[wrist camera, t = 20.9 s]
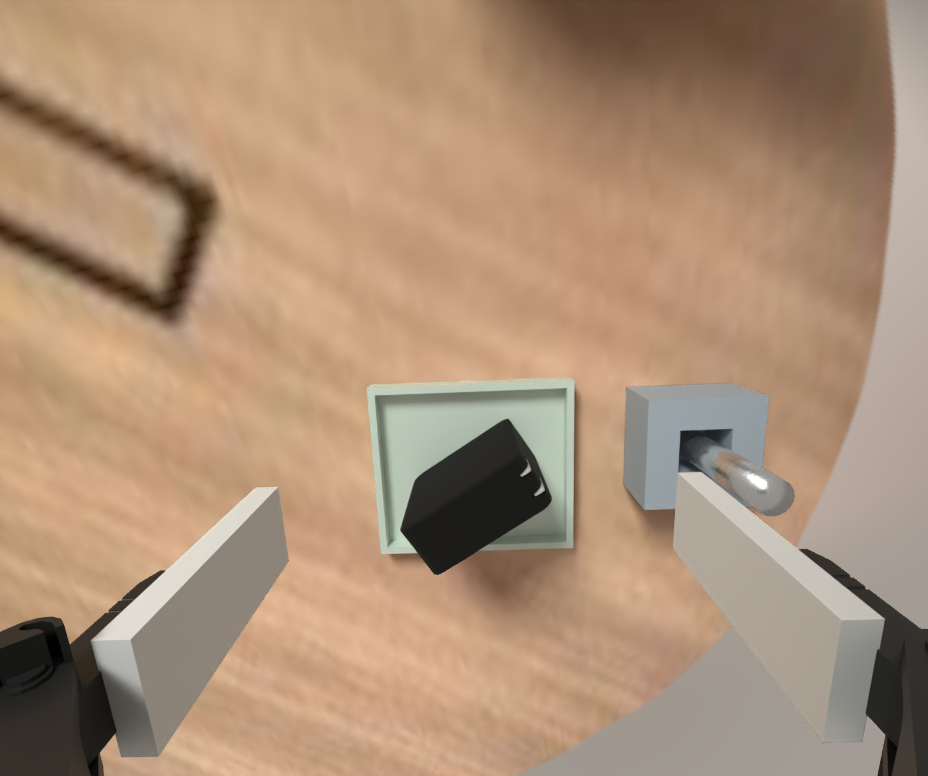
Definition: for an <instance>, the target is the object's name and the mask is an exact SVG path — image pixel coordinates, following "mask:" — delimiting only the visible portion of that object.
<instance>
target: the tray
mask: <svg viewBox="0 0 928 776" xmlns="http://www.w3.org/2000/svg"><path fill="white" fill-rule="evenodd" d="M367 397H368V409H369V420H370V432H371V444H372V455H373V467H374V478H375V490H376V501H377V513H378V524H379V536H380V547H381V554H403V553H417V552H416V550H415V549H414V548H413V546H412V545H411V544H410V543H409V541H408V540H407V539H406V538H405V536H404V535H403V534H402V532H401V531H400V528H401V524H402V521H403V518H404V514H405V511H406V507H407V504H408V501H409V497H410V494H411V490H412V487H413V484H414V481H415V479H416V478H417V477H418V476H419V475H421V474H422V473H423V472H425V471H426V470H428V469H429V468H431V467H432V466H434V465H435V464H437V463H438V462H440V461H441V460H443V459H444V458H446V457H447V456H449V455H450V454H452V453H453V452H455V451H456V450H458V449H459V448H461V447H462V446H464V445H465V444H467V443H469V442H470V441H472V440H473V439H475V438H476V437H478V436H479V435H481V434H482V433H484V432H485V431H487V430H488V429H490V428H491V427H493V426H494V425H496V424H497V423H499V422H501V421H502V420H504V419H509V420H510V421H511V422H512V424H513V425H514V427H515V428H516V430H517V431H518V432H519V434H520V435H521V437H522V438H523V440H524V441H525V443H526V444H527V445H528V447H529V448H530V450H531V451H532V453H533V454H534V455H535V457H536V460H537V462H538V465H539V467H540V470H541V472H542V474H543V477H544V479H545V482H546V484H547V487H548V489H549V491H550V494H551V496H552V501H551V503H550V504H549V506H548V507H547V508H545V509H544V510H543V511H541V512H540V513H538V514H537V515H535V516H533V517H532V518H530V519H528V520H527V521H525V522H524V523H522V524H520V525H519V526H517V527H516V528H514V529H512V530H511V531H509V532H508V533H506V534H504V535H503V536H501V537H500V538H498V539H496V540H495V541H493V542H491V543H490V544H488V545H487V546H485V547H483V548H482V549H480V550H479V551H496V550H528V549H559V548H573V500H574V380H573V379H572V378H571V377H552V378H526V379H500V380H475V381H449V382H423V383H398V384H372V385H370V386H369V387H368V388H367Z"/></svg>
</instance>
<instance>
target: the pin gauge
mask: <svg viewBox="0 0 928 776" xmlns="http://www.w3.org/2000/svg"><path fill="white" fill-rule="evenodd" d="M679 455H681V456H682V457H683V458H685V459H686V460H688V461H689V462H690V463H692V464H693V465H695V466H696V467H697V468H699V469H700V470H702V471H703V472H704V473H706V474H707V475H709V476H710V477H711V478H713V479H714V480H716V481H717V482H718V483H720V484H721V485H723V486H724V487H725V488H727V489H728V490H729V491H731V492H732V493H734V494H735V495H736V496H738V497H739V498H741V499H742V500H743V501H745V502H746V503H748V504H749V505H750V506H752V507H753V508H755V509H756V510H757V511H759V512H760V513H762V514H764V515H766V516H777V515H780V514H782V513H784V512H786V511H787V510H788V509H789V508H790V507H791V505H792V503H793V501H794V490H793V488H792V486H791V485H790V484H789V483H788V482H787V481H785V480H783V479H781V478H780V477H778V476H776V475H774V474H772V473H771V472H769V471H767V470H765V469H764V468H762V467H760V466H758V465H756V464H755V463H753V462H751V461H749V460H748V459H746V458H744V457H742V456H740V455H739V454H737V453H735V452H733V451H731V450H730V449H728V448H726V447H724V446H723V445H721V444H719V443H717V442H715V441H714V440H712V439H710V438H708V437H706V436H705V435H703V434H701V433H699V432H698V431H696V430H685V431H680V447H679Z"/></svg>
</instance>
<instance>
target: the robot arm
mask: <svg viewBox="0 0 928 776" xmlns="http://www.w3.org/2000/svg"><path fill="white" fill-rule="evenodd" d="M673 550H674V551H675V552H676V554H677V555H678V556H679V558H680V559H681V560H682V561H683V563H684V564H685V565H686V567H687V568H688V569H689V571H690V572H691V573H692V574H693V576H694V577H695V578H696V580H697V581H698V582H699V584H700V585H701V586H702V587H703V589H704V590H705V591H706V593H707V594H708V595H709V597H710V598H711V599H712V600H713V602H714V603H715V604H716V606H717V607H718V608H719V609H720V611H721V612H722V613H723V615H724V616H725V617H726V619H727V620H728V621H729V622H730V624H731V625H732V626H733V628H734V629H735V630H736V632H737V633H738V634H739V635H740V636H741V638H742V639H743V641H744V642H745V643H746V645H747V646H748V647H749V648H750V650H751V651H752V652H753V654H754V655H755V656H756V658H757V659H758V660H759V661H760V663H761V664H762V665H763V666H764V668H765V669H766V670H767V672H768V673H769V674H770V676H771V677H772V678H773V680H774V681H775V682H776V683H777V685H778V686H779V687H780V689H781V690H782V691H783V692H784V694H785V695H786V696H787V698H788V699H789V700H790V701H791V703H792V704H793V706H794V707H795V708H796V709H797V710H798V712H799V713H800V715H801V716H802V717H803V718H804V720H805V721H806V722H807V724H808V725H809V726H810V728H811V729H812V730H813V731H814V733H815V734H816V735H817V737H818V738H819V739H820V741H821V742H822V743H835V742H862V741H863V736H864V731H865V725H866V720H867V715H868V716H869V718H870V719H871V720H872V721H873V722H874V723H875V724H876V725H877V726H878V727H879V728H880V729H881V730H882V732H883V733H884V734H885V741H884V746H883V751H882V756H881V761H880V766H879V771H878V776H928V629H920V628H919V627H917V626H916V625H915V624H914V623H912V622H911V621H909V620H908V619H907V618H906V617H904V616H903V615H902V614H900V613H899V612H898V611H897V610H895V609H894V608H893V607H891V606H890V605H889V604H887V603H886V602H885V601H883V600H882V599H880V598H879V597H878V596H877V595H875V594H874V593H873V592H871V591H870V590H866V589H865V586H864V585H862V584H861V583H860V582H858V581H857V580H856V579H854V578H850V575H849V574H848V573H847V572H845V571H844V570H842V569H841V568H840V567H839V566H837V565H836V564H835V563H833V562H832V561H831V560H828V559H826V558H824V557H822V556H820V555H818V554H816V553H814V552H812V551H810V550H808V549H797V548H796V547H794V546H793V545H792V544H791V543H789V542H788V541H787V540H786V539H784V538H783V537H782V536H781V535H779V534H778V533H777V532H776V531H774V530H773V529H772V528H771V527H770V526H768V525H767V524H766V523H765V522H763V521H762V520H761V519H760V518H758V517H757V516H756V515H755V514H753V513H752V512H751V511H750V510H748V509H747V508H746V507H745V506H743V505H742V504H741V503H740V502H738V501H737V500H736V499H735V498H733V497H732V496H731V495H730V494H728V493H727V492H726V491H725V490H723V489H722V488H721V487H720V486H718V485H717V484H716V483H715V482H713V481H712V480H711V479H710V478H708V477H707V476H706V475H705V474H703V473H702V472H685V473H678V474H677V490H676V506H675V522H674V538H673ZM288 561H289V559H288V552H287V545H286V538H285V531H284V525H283V518H282V511H281V504H280V497H279V490H278V487H263V488H254V489H253V490H252V491H251V492H250V493H249V494H248V495H247V496H246V497H245V498H244V499H243V500H242V501H240V502H239V503H238V504H237V505H236V506H235V507H234V508H233V509H232V510H231V511H230V512H229V513H228V514H226V515H225V516H224V517H223V518H222V519H221V520H220V521H219V522H218V523H217V524H216V525H215V526H214V527H212V528H211V529H210V530H209V531H208V532H207V533H206V534H205V535H204V536H203V537H202V538H201V539H200V540H198V541H197V542H196V543H195V544H194V545H193V546H192V547H191V548H190V549H189V550H188V551H187V552H186V553H185V554H183V555H182V556H181V557H180V558H179V559H178V560H177V561H176V562H175V563H174V564H173V565H172V566H171V567H169V568H168V569H167V570H163V571H159V572H157V573H156V574H154V575H152V576H150V577H149V578H147V579H145V580H144V581H142V582H140V583H139V584H138V585H136V586H135V587H134V588H133V589H132V590H131V591H130V592H129V593H127V594H126V595H125V596H124V597H123V598H122V601H118V602H117V603H116V604H115V605H114V606H113V607H112V608H111V609H109V612H108V613H105V614H104V615H103V616H102V617H101V618H99V619H98V620H97V621H96V622H95V623H94V624H93V625H92V626H90V627H89V628H88V629H87V630H86V631H85V632H84V633H83V634H81V635H80V636H79V637H78V638H77V639H76V640H75V641H74V642H72V643H71V644H69V641H68V637H67V634H66V630H65V626H64V624H63V622H62V620H61V619H60V618H56V617H44V618H37V619H33V620H30V621H26V622H23V623H20V624H17V625H15V626H13V627H10V628H8V629H6V630H3V631H1V632H0V776H104V772H103V764H102V760H101V756H100V752H101V750H102V749H103V748H104V747H105V745H106V744H107V743H108V742H109V740H110V739H111V738H112V737H113V735H114V734H115V735H116V739H117V743H118V746H119V750H120V754H121V757H155V756H159V755H160V754H161V752H162V751H163V749H164V748H165V746H166V745H167V743H168V742H169V740H170V739H171V737H172V736H173V734H174V733H175V731H176V730H177V728H178V727H179V725H180V724H181V722H182V721H183V719H184V718H185V716H186V715H187V713H188V712H189V710H190V709H191V707H192V706H193V704H194V703H195V701H196V700H197V698H198V697H199V695H200V694H201V692H202V691H203V689H204V688H205V686H206V685H207V683H208V682H209V680H210V679H211V677H212V676H213V674H214V673H215V671H216V670H217V668H218V667H219V665H220V664H221V662H222V661H223V659H224V658H225V656H226V655H227V653H228V652H229V650H230V649H231V647H232V646H233V644H234V643H235V641H236V640H237V638H238V637H239V635H240V634H241V632H242V631H243V629H244V627H245V626H246V624H247V623H248V621H249V620H250V618H251V617H252V615H253V614H254V612H255V611H256V609H257V608H258V606H259V605H260V603H261V602H262V600H263V599H264V597H265V596H266V594H267V593H268V591H269V590H270V588H271V587H272V585H273V584H274V582H275V581H276V579H277V578H278V576H279V575H280V573H281V572H282V570H283V569H284V567H285V566H286V564H287V563H288Z"/></svg>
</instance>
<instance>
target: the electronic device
mask: <svg viewBox="0 0 928 776" xmlns="http://www.w3.org/2000/svg"><path fill="white" fill-rule="evenodd" d="M551 501H552V496H551V494H550V491H549V489H548V487H547V484H546V482H545V479H544V477H543V474H542V472H541V470H540V467H539V465H538V462H537V460H536V457H535V455H534V454H533V453H532V451H531V450H530V448H529V447H528V445H527V444H526V443H525V441H524V440H523V438H522V437H521V435H520V434H519V432H518V431H517V430H516V428H515V427H514V425H513V424H512V422H511V421H510V420H509V419H504V420H502V421H501V422H499V423H497V424H496V425H494V426H493V427H491V428H490V429H488V430H487V431H485V432H484V433H482V434H481V435H479V436H478V437H476V438H475V439H473V440H472V441H470V442H469V443H467V444H465V445H464V446H462V447H461V448H459V449H458V450H456V451H455V452H453V453H452V454H450V455H449V456H447V457H446V458H444V459H443V460H441V461H440V462H438V463H437V464H435V465H434V466H432V467H431V468H429V469H428V470H426V471H425V472H423V473H422V474H421V475H419V476H418V477H417V478H416V479H415V481H414V484H413V487H412V490H411V494H410V497H409V501H408V504H407V507H406V511H405V514H404V518H403V521H402V524H401V528H400V531H401V532H402V534H403V535H404V536H405V538H406V539H407V540H408V541H409V543H410V544H411V545H412V546H413V548H414V549H415V550H416V552H417V553H418V554H419V555H420V557H421V558H422V559H423V560H424V562H425V563H426V564H427V566H428V567H429V568H430V569H431V571H432V572H433V573H434V574H436V575H439V574H441V573H443V572H445V571H446V570H448V569H450V568H451V567H453V566H454V565H456V564H458V563H459V562H461V561H463V560H464V559H466V558H467V557H469V556H471V555H472V554H474V553H475V552H477V551H479V550H480V549H482V548H483V547H485V546H487V545H488V544H490V543H491V542H493V541H495V540H496V539H498V538H500V537H501V536H503V535H504V534H506V533H508V532H509V531H511V530H512V529H514V528H516V527H517V526H519V525H520V524H522V523H524V522H525V521H527V520H528V519H530V518H532V517H533V516H535V515H537V514H538V513H540V512H541V511H543V510H544V509H545V508H547V507H548V506H549V504H550V503H551Z"/></svg>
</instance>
